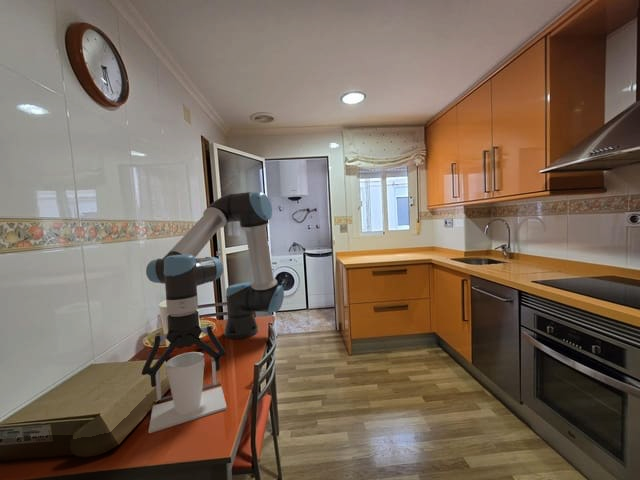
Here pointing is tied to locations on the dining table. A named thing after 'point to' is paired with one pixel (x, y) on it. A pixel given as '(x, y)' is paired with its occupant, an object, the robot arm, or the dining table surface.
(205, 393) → the mat
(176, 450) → the dining table surface
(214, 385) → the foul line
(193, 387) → the foam cup
